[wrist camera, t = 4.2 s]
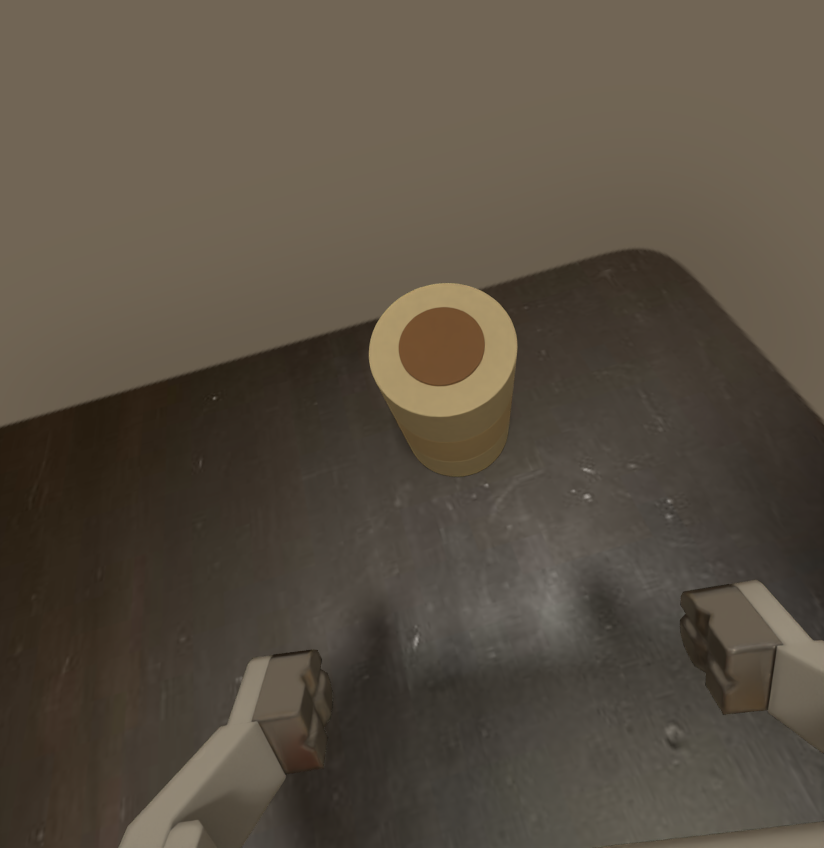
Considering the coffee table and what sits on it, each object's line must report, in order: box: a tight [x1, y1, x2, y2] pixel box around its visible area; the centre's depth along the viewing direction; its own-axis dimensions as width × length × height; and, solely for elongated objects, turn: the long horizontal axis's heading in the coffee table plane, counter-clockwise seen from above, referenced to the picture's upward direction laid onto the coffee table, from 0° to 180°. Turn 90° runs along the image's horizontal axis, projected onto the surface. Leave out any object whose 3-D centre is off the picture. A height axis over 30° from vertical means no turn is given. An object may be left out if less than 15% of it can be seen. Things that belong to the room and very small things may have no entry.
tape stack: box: [369, 283, 517, 477], centre depth 22 cm, size 5×5×9 cm
